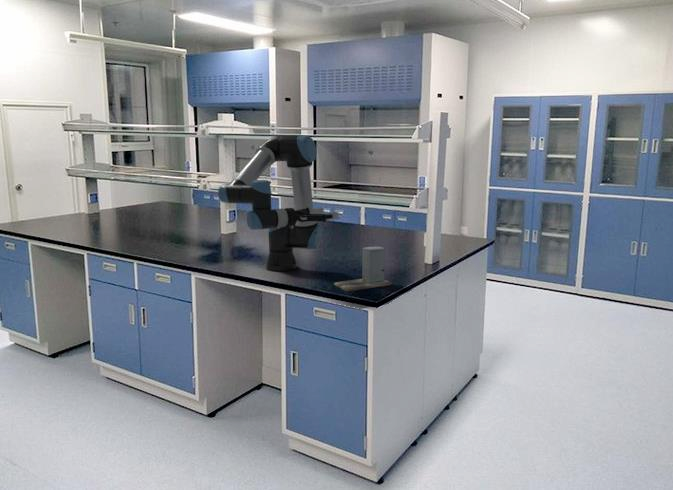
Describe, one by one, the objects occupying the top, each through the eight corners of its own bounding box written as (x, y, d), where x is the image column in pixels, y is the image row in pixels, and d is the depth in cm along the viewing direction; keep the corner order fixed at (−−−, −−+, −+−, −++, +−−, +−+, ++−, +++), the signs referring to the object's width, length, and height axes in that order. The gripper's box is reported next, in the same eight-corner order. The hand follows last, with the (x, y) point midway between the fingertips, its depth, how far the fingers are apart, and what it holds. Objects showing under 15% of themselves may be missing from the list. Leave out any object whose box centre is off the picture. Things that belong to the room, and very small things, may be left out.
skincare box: (369, 283, 236) (369, 249, 233) (361, 280, 241) (361, 247, 238) (384, 280, 241) (385, 247, 238) (376, 277, 246) (377, 245, 243)
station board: (333, 284, 239) (333, 282, 239) (376, 278, 249) (376, 276, 249) (347, 291, 229) (347, 289, 228) (391, 284, 239) (391, 282, 238)
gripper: (273, 222, 235) (317, 217, 245) (297, 231, 214) (345, 226, 224) (272, 204, 234) (317, 201, 244) (297, 212, 212) (344, 208, 222)
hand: (330, 213), depth 234 cm, fingers open, 13 cm apart
